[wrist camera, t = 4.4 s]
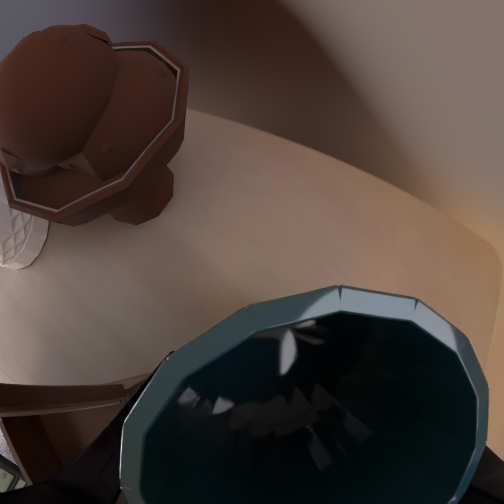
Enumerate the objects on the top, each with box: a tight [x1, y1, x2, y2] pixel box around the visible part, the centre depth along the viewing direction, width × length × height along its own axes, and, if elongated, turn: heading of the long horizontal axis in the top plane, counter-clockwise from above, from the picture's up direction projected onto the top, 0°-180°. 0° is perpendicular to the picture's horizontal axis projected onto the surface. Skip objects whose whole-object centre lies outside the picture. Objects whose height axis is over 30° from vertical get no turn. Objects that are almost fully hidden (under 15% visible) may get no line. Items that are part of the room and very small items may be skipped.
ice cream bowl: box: [0, 24, 189, 226], centre depth 13 cm, size 11×11×15 cm
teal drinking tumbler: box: [120, 285, 489, 504], centre depth 9 cm, size 7×7×12 cm
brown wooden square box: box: [0, 373, 152, 485], centre depth 13 cm, size 12×12×5 cm
